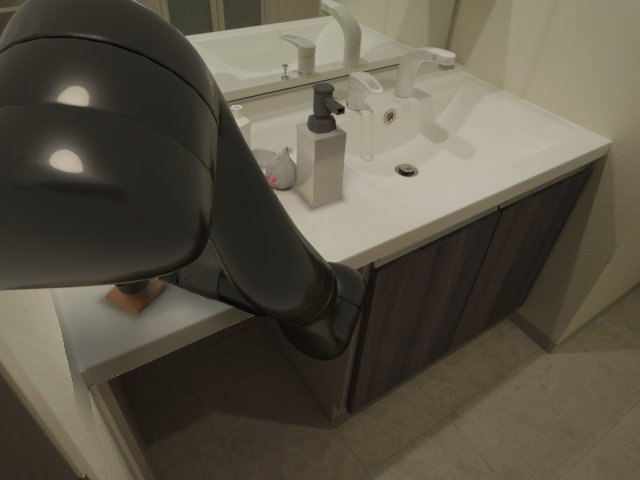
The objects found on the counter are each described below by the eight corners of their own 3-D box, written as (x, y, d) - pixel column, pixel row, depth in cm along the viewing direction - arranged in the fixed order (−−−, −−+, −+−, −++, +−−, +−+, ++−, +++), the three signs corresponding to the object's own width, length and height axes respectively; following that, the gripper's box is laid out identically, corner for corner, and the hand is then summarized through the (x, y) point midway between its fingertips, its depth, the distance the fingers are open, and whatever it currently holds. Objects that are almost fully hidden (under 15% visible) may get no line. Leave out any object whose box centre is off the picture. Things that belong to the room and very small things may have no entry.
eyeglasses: (218, 159, 92) (217, 142, 89) (232, 144, 98) (231, 128, 96) (279, 169, 90) (279, 152, 88) (289, 153, 96) (289, 137, 94)
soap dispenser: (318, 215, 79) (324, 103, 64) (296, 191, 84) (296, 82, 70) (347, 205, 81) (358, 95, 67) (323, 182, 87) (329, 76, 72)
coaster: (137, 314, 60) (136, 310, 59) (106, 299, 62) (104, 296, 61) (165, 286, 64) (164, 282, 64) (135, 273, 66) (133, 270, 65)
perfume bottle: (258, 171, 89) (253, 104, 79) (248, 182, 86) (242, 113, 76) (238, 167, 90) (231, 100, 80) (228, 177, 87) (220, 109, 77)
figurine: (257, 186, 85) (255, 152, 79) (281, 173, 89) (281, 139, 84) (280, 200, 82) (279, 164, 76) (304, 185, 86) (305, 151, 80)
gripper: (232, 206, 53) (127, 172, 58) (155, 281, 43) (36, 232, 48) (238, 249, 58) (141, 214, 63) (170, 325, 48) (61, 277, 53)
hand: (96, 222), depth 55 cm, fingers closed on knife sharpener, 4 cm apart
